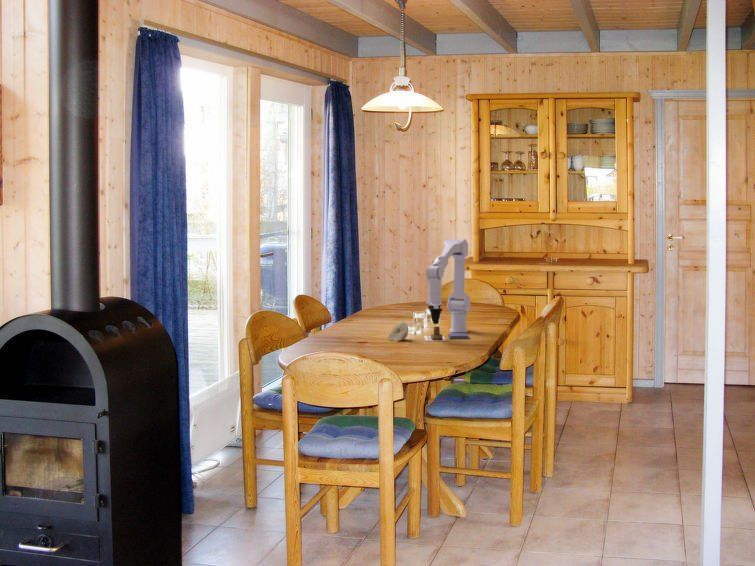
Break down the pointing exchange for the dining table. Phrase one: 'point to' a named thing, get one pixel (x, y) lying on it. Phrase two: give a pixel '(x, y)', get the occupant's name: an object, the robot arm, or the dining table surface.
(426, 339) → the sheet
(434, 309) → the robot arm
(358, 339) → the dining table surface
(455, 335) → the ink pad
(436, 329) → the stamp
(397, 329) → the stone
